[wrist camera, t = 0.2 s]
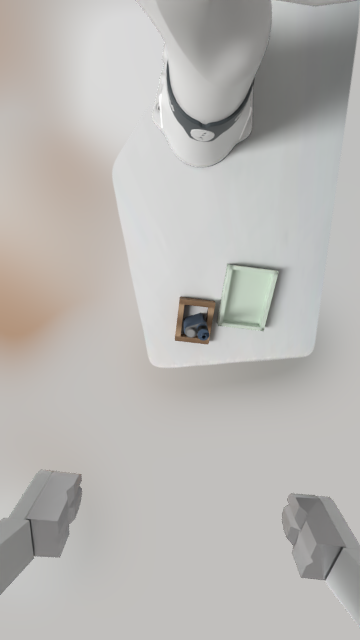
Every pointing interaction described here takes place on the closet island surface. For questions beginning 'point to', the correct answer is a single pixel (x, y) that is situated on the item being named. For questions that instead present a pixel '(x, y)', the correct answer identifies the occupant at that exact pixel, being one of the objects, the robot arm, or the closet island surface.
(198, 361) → the closet island surface
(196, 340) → the holder
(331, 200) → the closet island surface
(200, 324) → the vaping device
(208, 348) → the closet island surface
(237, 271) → the tray
